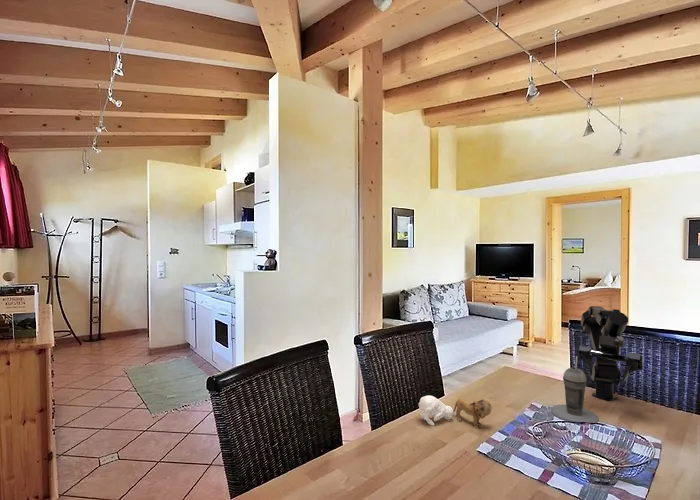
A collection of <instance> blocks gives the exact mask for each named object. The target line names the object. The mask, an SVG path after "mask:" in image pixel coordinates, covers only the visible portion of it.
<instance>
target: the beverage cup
mask: <svg viewBox="0 0 700 500" xmlns="http://www.w3.org/2000/svg"><path fill="white" fill-rule="evenodd" d="M578 358H579V355H578V356H577V355H576V356H575V365H574V366H573V367H569V368H567V369H566V370H564V372H563V377H562V379H563V381H562V382H563V384H564V393H565V394H564V395H565V405H566V407H567V412H568V413H569V414H571V415H575V416H581V415H582V411H583V408H584V402H585V393H586V388H587V383H588V380H587V376H586V374H585V372H584V371H583V370H582V369H580V368H578Z"/></svg>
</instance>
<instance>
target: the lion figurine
mask: <svg viewBox="0 0 700 500" xmlns="http://www.w3.org/2000/svg"><path fill="white" fill-rule="evenodd" d="M455 401H456V402H455V404H454V408H453V414H454V413H455V414H456V417H457V421H458V422H462V421H463V420H462V419H461V417H460V416H461V412H462V411H463V412H465V413H466V415H469V416H472V418H473V426H474V428H475V429H478V428H479V426H481V425H482V423H481V422H480V419H484V418H485V417H487V416H489V415H490V414H491V412H492V409H493V406H492V402H490V400H489V399H487V398H482V399H480V400H478V401H473V402H468V401H467V400H465V399H464V398H458V399H457V400H455ZM455 411H456V412H455Z"/></svg>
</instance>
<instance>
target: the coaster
mask: <svg viewBox="0 0 700 500" xmlns="http://www.w3.org/2000/svg"><path fill="white" fill-rule="evenodd" d="M550 412H551V414H552V415H553V416H555V417H556V418H557V419H559V420H562V421H565V422H568V421H577V422H584V421H585V422H597V423H598V422H599V416H598V415H597V414H596V413H595V412H593V411H592V410H590V409H587V408H584V407H583V411H582V415H581V416H575V415H571V414H569V413H568V412H567V407H566V404H555V405H553V406H551V408H550Z"/></svg>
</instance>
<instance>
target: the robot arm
mask: <svg viewBox="0 0 700 500" xmlns="http://www.w3.org/2000/svg"><path fill="white" fill-rule="evenodd" d="M628 323H629V317H628V316H627V315H626V314H625V313H623V312H621V311H620V309H612V310H609V309H605V308H604V307H603V306H597V305H596V306H594V305H590V306H588V309H587V310H586V311H584V312H583V313H582V314H581V318H580V326H581V327H582V328H583V331H584V332H585V333H587V335H589V338H590V339H589V340H590V342H591V346H592V347H591V346H587V345H579V346H578V347H577V354H578V358H579V360H581V361H582V362H584V363H586V365H587V367H588V371H589V376H590V379H591V381H593V382H595V392H594V393H592V394H591V396H593V397H596V398H598V399H601V400H605V401H608V402H611V401H613V400H616V399H618V396H617V395H614V384H615V385H616V384H617V385H619V384H620V383H621V382H620V381H621V376H622V382H623V383H624V382H625V381H626V380H627V379H628V378H629V376H630V375H631V374H633V372H634V371H635V372H636V371H639V370H640V371H641V370H643V369H644V359H643V355H642V354H641V353H634V352H627V356H626V355H621V354H620V353H621V348H624V344H625V337H624V336H622V334H623V333H624V331H625V329H626V327H627V324H628ZM593 358H595V360H594V362H593ZM617 362H622V363H625V366H624V369H623V373H622V372H621V369H620V368H619V366H618V363H617Z"/></svg>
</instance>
